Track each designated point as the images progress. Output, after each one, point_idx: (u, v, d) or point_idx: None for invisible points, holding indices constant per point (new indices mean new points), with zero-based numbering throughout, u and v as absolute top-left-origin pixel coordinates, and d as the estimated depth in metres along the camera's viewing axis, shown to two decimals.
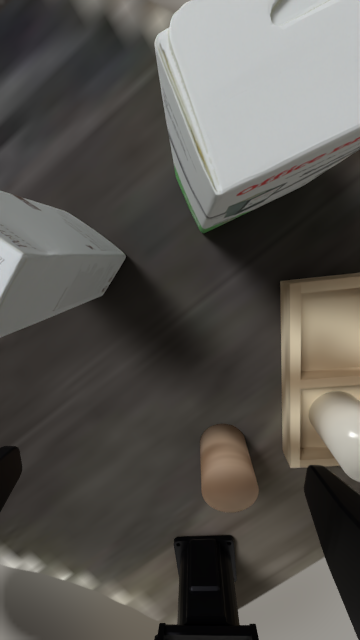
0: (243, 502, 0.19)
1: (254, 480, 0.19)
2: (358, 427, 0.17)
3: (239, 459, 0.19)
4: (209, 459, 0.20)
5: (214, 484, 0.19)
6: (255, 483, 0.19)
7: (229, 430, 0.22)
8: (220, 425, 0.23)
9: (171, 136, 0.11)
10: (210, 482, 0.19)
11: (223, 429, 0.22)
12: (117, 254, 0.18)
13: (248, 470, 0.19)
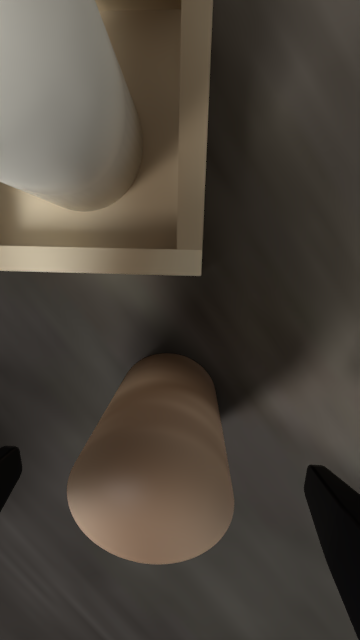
0: (197, 475, 0.06)
1: (113, 437, 0.06)
2: None
3: (89, 438, 0.07)
4: None
5: (125, 534, 0.07)
6: (124, 436, 0.06)
7: None
8: None
9: None
10: (117, 541, 0.07)
11: None
12: None
13: (89, 443, 0.06)
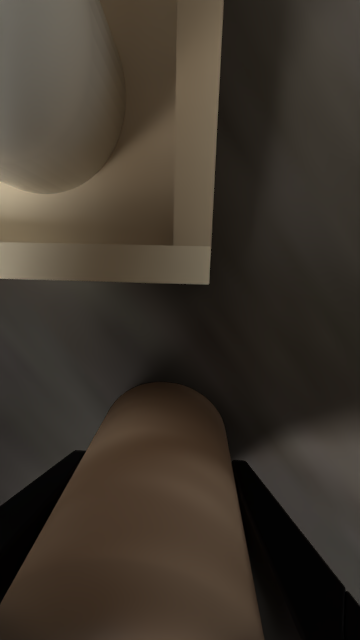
0: (207, 625, 0.04)
1: (63, 565, 0.03)
2: None
3: (39, 535, 0.05)
4: None
5: None
6: (81, 565, 0.03)
7: None
8: None
9: None
10: None
11: None
12: None
13: (27, 564, 0.04)
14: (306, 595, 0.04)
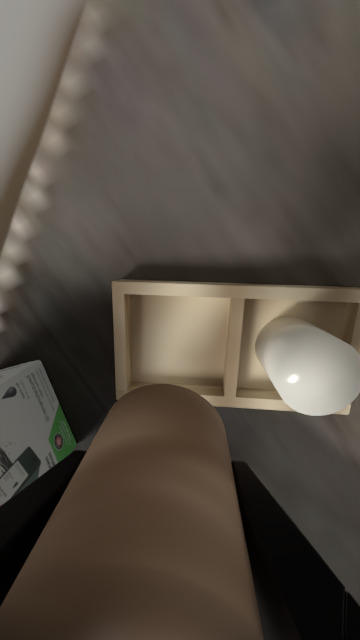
0: (207, 630, 0.04)
1: (62, 571, 0.03)
2: (274, 384, 0.14)
3: (38, 538, 0.05)
4: None
5: None
6: (80, 571, 0.03)
7: None
8: None
9: None
10: None
11: None
12: None
13: (26, 569, 0.04)
14: (306, 595, 0.04)
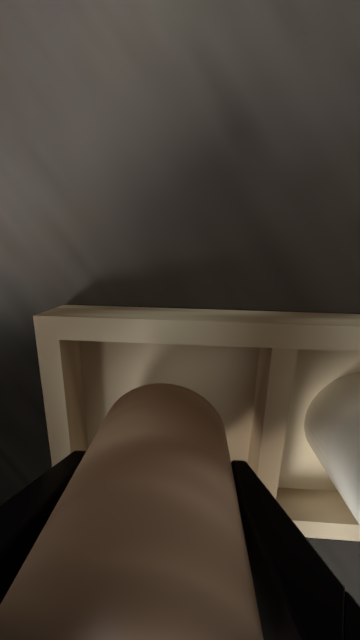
0: (206, 630, 0.04)
1: (62, 570, 0.03)
2: None
3: (37, 538, 0.05)
4: None
5: None
6: (79, 570, 0.03)
7: None
8: None
9: None
10: None
11: None
12: None
13: (25, 569, 0.04)
14: (306, 595, 0.04)
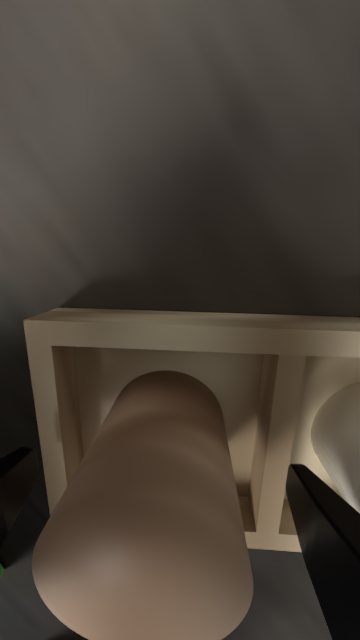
0: (204, 552, 0.05)
1: (91, 503, 0.04)
2: None
3: (65, 490, 0.06)
4: None
5: (110, 620, 0.05)
6: (105, 502, 0.04)
7: None
8: None
9: None
10: (100, 628, 0.05)
11: None
12: None
13: (60, 506, 0.05)
14: None
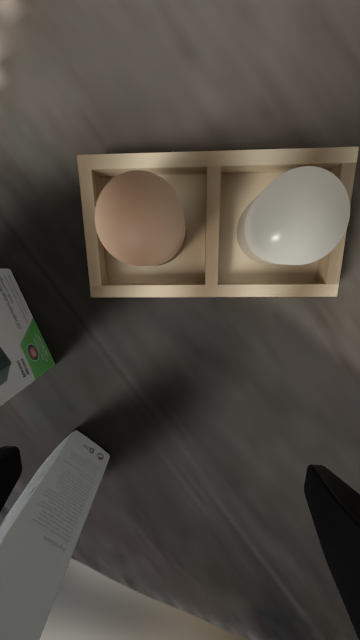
0: (163, 198, 0.12)
1: (119, 176, 0.12)
2: (254, 236, 0.12)
3: None
4: None
5: (126, 245, 0.12)
6: (125, 175, 0.11)
7: None
8: None
9: None
10: (122, 250, 0.12)
11: None
12: (62, 448, 0.20)
13: (106, 187, 0.12)
14: None
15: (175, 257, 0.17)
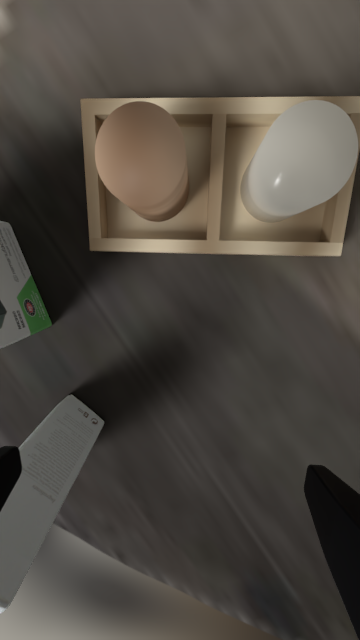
0: (166, 133, 0.11)
1: (123, 107, 0.11)
2: (258, 178, 0.12)
3: None
4: None
5: (125, 181, 0.12)
6: (128, 106, 0.11)
7: None
8: None
9: None
10: (120, 187, 0.12)
11: None
12: (56, 408, 0.19)
13: (109, 119, 0.12)
14: None
15: (176, 214, 0.17)
